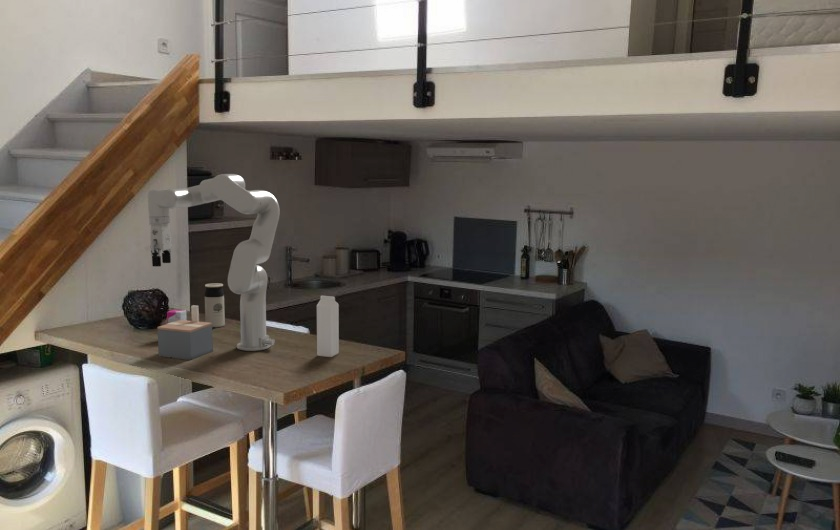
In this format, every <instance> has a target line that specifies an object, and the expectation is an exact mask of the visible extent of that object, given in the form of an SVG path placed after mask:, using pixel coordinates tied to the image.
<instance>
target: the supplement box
mask: <svg viewBox="0 0 840 530" xmlns="http://www.w3.org/2000/svg"><path fill="white" fill-rule="evenodd" d="M187 319H188V317H187V310H186V309H172V310H170V311H167V312H166V320H167V321H166V322H167V323H166V324H168V323H171V322H175V321H178V320H187Z"/></svg>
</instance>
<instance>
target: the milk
mask: <svg viewBox="0 0 840 530" xmlns="http://www.w3.org/2000/svg"><path fill="white" fill-rule="evenodd" d="M339 307H340V305H339V303H338V302H337V301H336V297H335V296H334V295H333V296H331V295H330V296H329V295H320V300H319V301H318V303H317V304H316V356H318V357H319V356H320V357H327V358H333V357H335V356H336V355H338V354H339V353H340V350H339V349H340V346H339V345H340V340H339V338H340V337H339V336H340V334H339V333H340V332H339V323H340V321H339V320H340V318H339V317H340V315H339V311H340V310H339Z"/></svg>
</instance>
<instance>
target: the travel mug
mask: <svg viewBox="0 0 840 530" xmlns="http://www.w3.org/2000/svg"><path fill="white" fill-rule="evenodd" d="M204 286H205V290H204V316H205V320H204V322H208V323H212V328H221V327H223V326H225V325H226V322H225V320H226V319H225V318H226V317H225V316H226V315H225V292H224V290H223V286H224V284H223V283H218V282H217V283H216V282H215V283H206V284H205V285H204Z"/></svg>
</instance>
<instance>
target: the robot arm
mask: <svg viewBox="0 0 840 530" xmlns="http://www.w3.org/2000/svg"><path fill="white" fill-rule="evenodd" d="M216 201H222V202H224V203H226V204H227V205H228V206H229V207H231V208H233V209H234V210H235V211H237V212H238V213H241V214H243V215H253V214H257V216H256V219H255V220H254V222H253V225H252V229H251V234H250V237H249V239H247V240H243V241H241V242H239V243H238V244H237V245H236V247H235V248H234V250H233V253H232V254H233V255H232V258H231V261H230V266H229V270H228V274H227V287H228V288H229V290H230V292H232V293H234V294H236V295H240V298H239V300H240V301H239V311H240V312H239V313H240V316H239V317H240V342H238V343H237V344H236V349H238V350H240V351H245V352H257V351H264V350H267V349H269V348H270V347H271V346H274V345H275V342H276V339H275V338H270V335H269V334H267V311H266V309H267V300H266V299H267V287H268V280H269V279H268V273H267V272H266V270H265V269H264V268H263V266H260V265H261V264H263V263H265V262H267V261H268V260H269V258H270V256H271V252H272V248H273V243H274V239H275V235H276V231H277V227H278V224H279V221H280V212H281V210H280V208H281V207H280V205H279V202H278V200H277V198H276V197H275V195H273V193H271V192H269V191H267V190H264V189H253V190H247V189H246V181H245V179H244V178H243V177H242V176H241V175H238V174H236V173H221V174H218V175H216V176H214V177H212V178H208V179H204V180H202V181H201V182H200V183H199V184H198V185H194V186H189V187H185V188H183V187H181V188H179V187H178V188H166V189H163V188H155V189H154V188H153V189H148V191H147V205H148V206H147V208H148V209H147V210H148V223H149V225H148V226H150V233H149V234H150V237H149V238H150V245H149V246H150V253H151V263H152V267H162V263H163V264H171V263H172V259H171V249H172V247H173V240H172V233H171V227H170V225H171V222H170V221H171V220H170V209H172V210H173V209H182V208H191V207H195V206H201V205H204V204H209V203H212V202H216Z"/></svg>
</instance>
